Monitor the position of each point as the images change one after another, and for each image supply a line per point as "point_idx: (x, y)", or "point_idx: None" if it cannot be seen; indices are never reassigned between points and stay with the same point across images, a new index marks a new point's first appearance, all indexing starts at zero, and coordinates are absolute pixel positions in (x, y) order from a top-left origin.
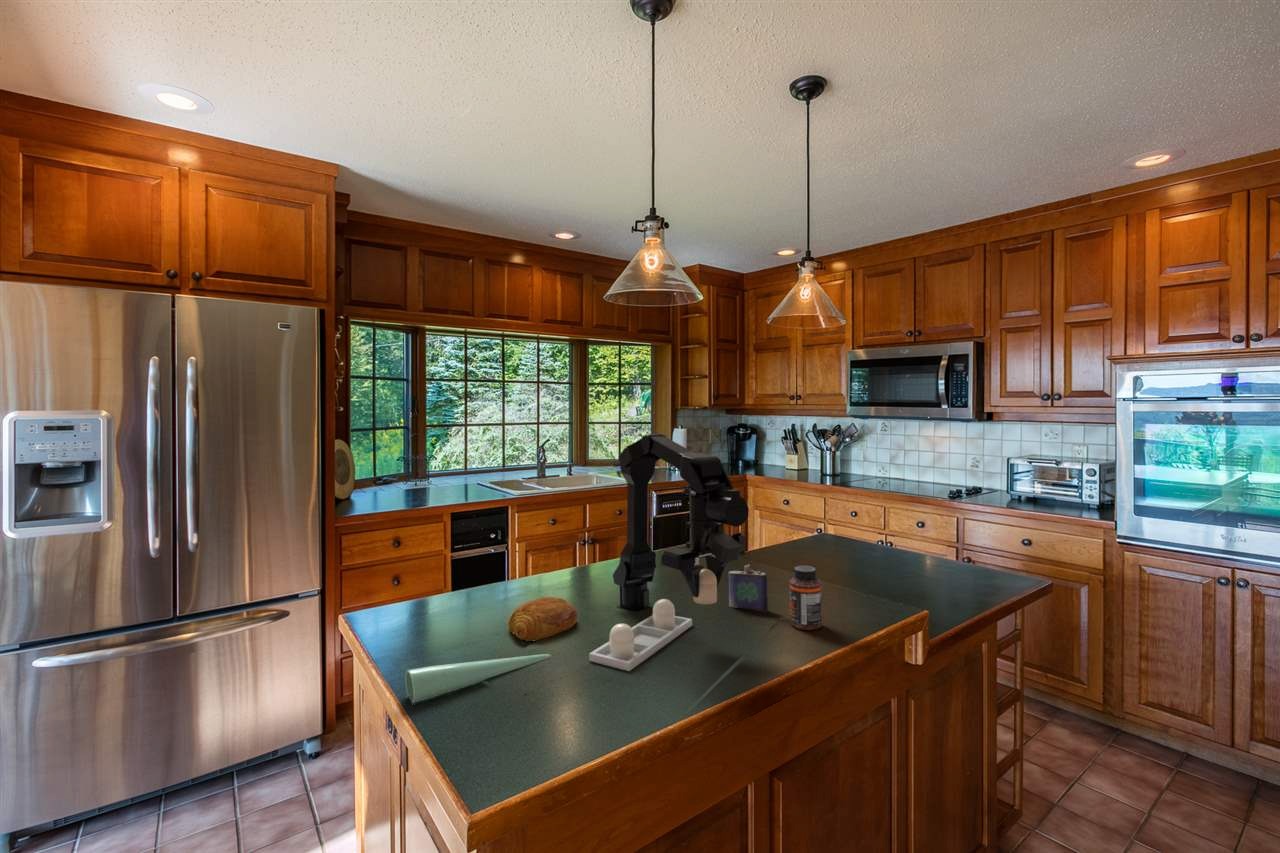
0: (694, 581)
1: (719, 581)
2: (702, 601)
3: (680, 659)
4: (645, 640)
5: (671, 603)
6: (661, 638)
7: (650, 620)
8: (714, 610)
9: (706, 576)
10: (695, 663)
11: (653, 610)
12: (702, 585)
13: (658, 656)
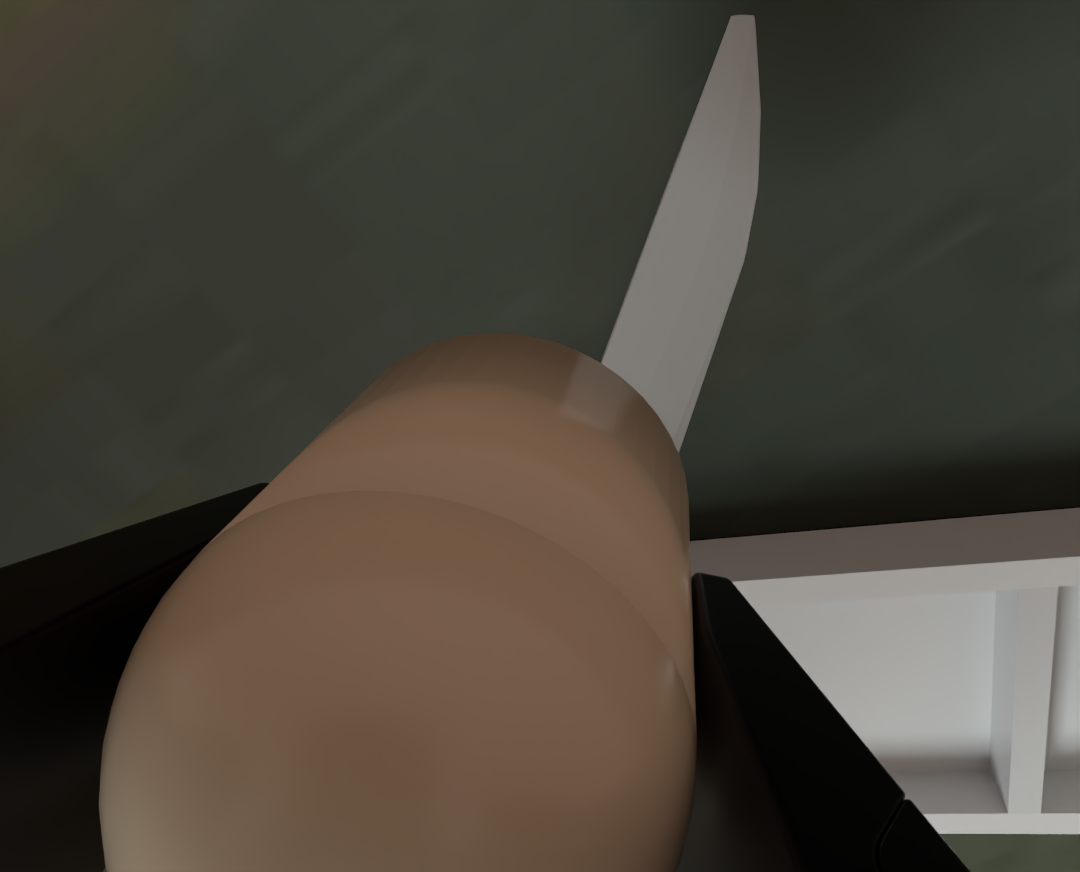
0: (946, 860)
1: (100, 536)
2: (676, 470)
3: (943, 322)
4: (820, 682)
5: None
6: (843, 591)
7: None
8: None
9: (529, 777)
10: (954, 171)
11: None
12: (671, 651)
13: (979, 486)
